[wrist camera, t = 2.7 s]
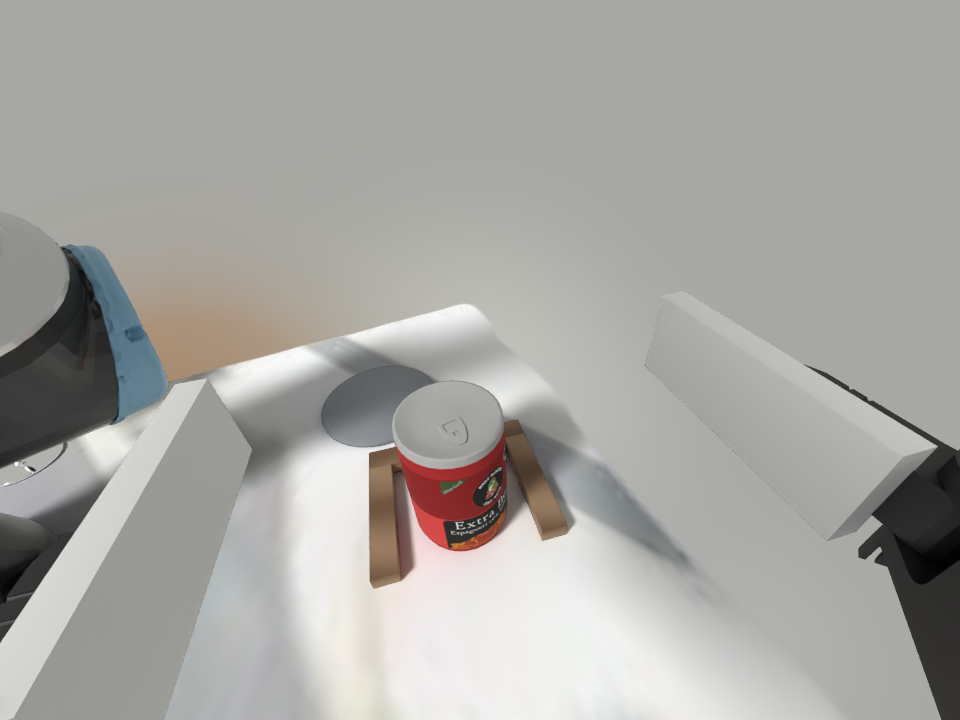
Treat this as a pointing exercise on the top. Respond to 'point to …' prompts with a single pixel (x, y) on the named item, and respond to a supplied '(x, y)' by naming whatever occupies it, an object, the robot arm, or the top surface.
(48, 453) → the wineglass
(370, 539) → the walnut cradle
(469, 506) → the canned food
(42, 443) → the robot arm
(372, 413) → the slate mat
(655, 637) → the top surface
